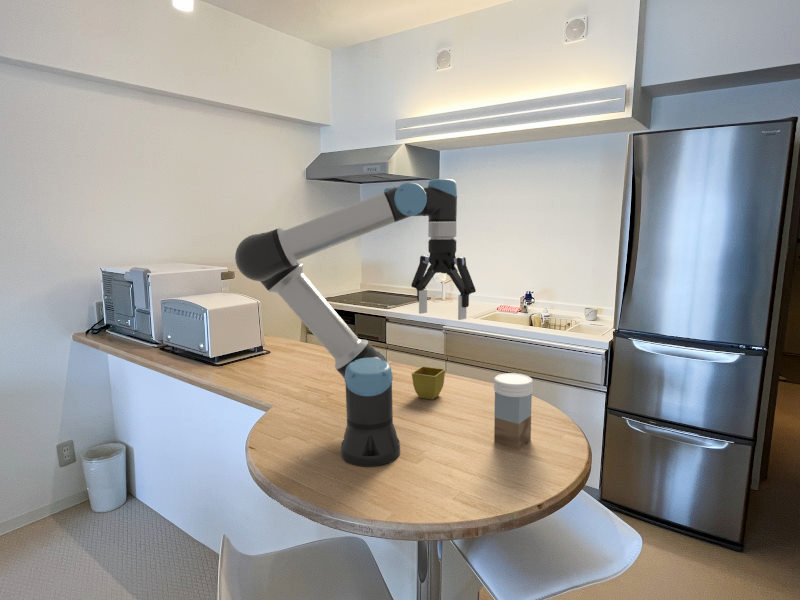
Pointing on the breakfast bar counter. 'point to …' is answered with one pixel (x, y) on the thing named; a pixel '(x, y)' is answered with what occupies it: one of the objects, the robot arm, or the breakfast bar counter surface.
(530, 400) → the block top
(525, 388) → the white round disc
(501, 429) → the block bottom
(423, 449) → the breakfast bar counter surface
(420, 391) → the flower pot
